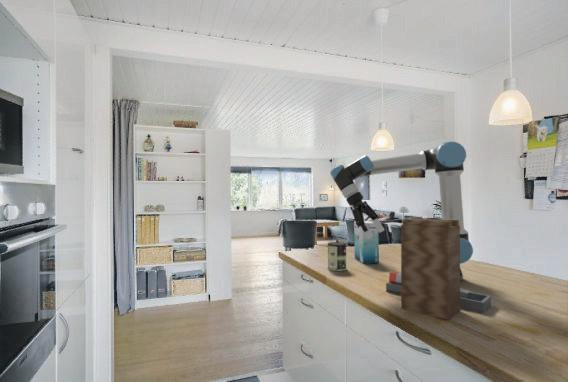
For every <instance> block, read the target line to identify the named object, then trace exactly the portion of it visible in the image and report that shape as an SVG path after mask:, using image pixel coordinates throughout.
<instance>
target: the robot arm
mask: <svg viewBox="0 0 568 382" xmlns="http://www.w3.org/2000/svg"><path fill="white" fill-rule="evenodd" d="M466 151H467V150H466V148H465V147H464V146H463V145H462V144H461V143H459V142H456V141H446V142H442V143H441V144H439V145H437V146H435V147H434V148H433V147H432V148H430V149H426V150H422V151H420V152H419V153H414V154H408V155H399V156H394V157H393V156H392V157H385V158H377V159H371V158H370V157H369V156H368V155H363V156H361V157H359V158H357V160H355V161H353V162H352V163H350V164H348V165H346V166H345V165H344V164H339V165H337V166H335V167H334V168H332V169H331V170H330V175H331V178H332V179H333V181H334V183H335V184H336V186H337V187H338V189H339V190H340V192H341V194H342V196H343V197H344V198H345V199H346V202H347V204H348V205H349V206H350V207H349V208H350V210H351V212H352V216H353V218H354V221H355V222H356V225H357V226H358V227H360V226H361V228H362V229H363V231H364V233H365V234H366V236H367V238H368V239H369V238H371V237H373V236H374V235H373V234H372V232H371V230H370V229H369V227H368V226H367V224H366V223H365V222H364V221H365V218H364V214H365V215H366V216H367V217H368V218H370V219H371V220H372V221H371V222H373V223H374V225H375V226H376V228H377V230H378V234H379V233H382V232H384V231H385V228H384V226H383V225H382V223H381V222H380V221H379V219H378V218H379V217H380V216H379V215H378V213H377V212H376V211H375V210H374V209H373V208H372V207H371V205H369V204H368V202H367V201H366V200H364V196H363V194H362V192H361V191H360V190H359V187H358V186H357V185H356V183H355V181H354V180H356V179H358V178H361V177H365V176H366V177H367V176H374V175H381V174H389V173H390V174H391V173H398V172H405V171H413V170H420V169H421V170H423V171H427V170H428V171H429V170H430V171H431V170H434V173H435V175H437V176H438V179H439V194H440V195H439V196H440V197H439V198H440V208H441V219H447V220H459V226H460V265H461V264H465V263H466V262H468V261H470V259H471V258H472V256H473V254H474V247H473V246H472V243H471V242H470V240H469V238H470V237H469V231H468V230H466V229H465V224H464V223H465V222H464V211H463V195H462V182H461V175H462V173H463V172H464V171H465V169H464V162H465V161H466V158H467V152H466ZM363 200H364V201H363ZM461 268H462V267H460V282H463V281H464V275H463V271H462V269H461Z"/></svg>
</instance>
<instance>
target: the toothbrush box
mask: <svg viewBox="0 0 568 382" xmlns="http://www.w3.org/2000/svg"><path fill="white" fill-rule="evenodd" d="M364 222H365V223H366V224H367V226H368V227H369V229H370V230H371V232H372V234H373V235H374V236H373V237H371V238H369V239H368V238H367V236H366V234H365V233H364V231H363V229H362V228H361V226H360V227H358V226H357V225H356V222H355V220H354V221H353V229H354V230H353V233H354V234H353V235H354V259H355V260H357V261H359V262H360V263H362V264H380V247H379V243H380V242H379V239H380V238H379V231H378V230H377V228H376V226H375V225H374V223H373V222H372V221H370V220H364Z"/></svg>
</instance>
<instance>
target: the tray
mask: <svg viewBox="0 0 568 382" xmlns="http://www.w3.org/2000/svg"><path fill="white" fill-rule="evenodd" d="M385 291H386V292H388V293H392V294H396V295H401V285H399V284H395V283H392V282H389V281H388V282H386V288H385ZM491 306H492V295H488V294H483V293H477V292H472V291H470V299H466V298H461V297H460V309H464V310H467V311H468V310H469V311H472V312H477V313H482V314H484V313H485V312H486V311H487V310H488V309H489V308H490V307H491Z"/></svg>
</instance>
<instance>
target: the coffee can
mask: <svg viewBox="0 0 568 382" xmlns="http://www.w3.org/2000/svg"><path fill="white" fill-rule="evenodd" d="M327 269H328V270H329V271H333V272H334V271H335V272H336V271H337V272H343V271H346V270H347V243H346V242H342V241H330V242H327Z"/></svg>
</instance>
